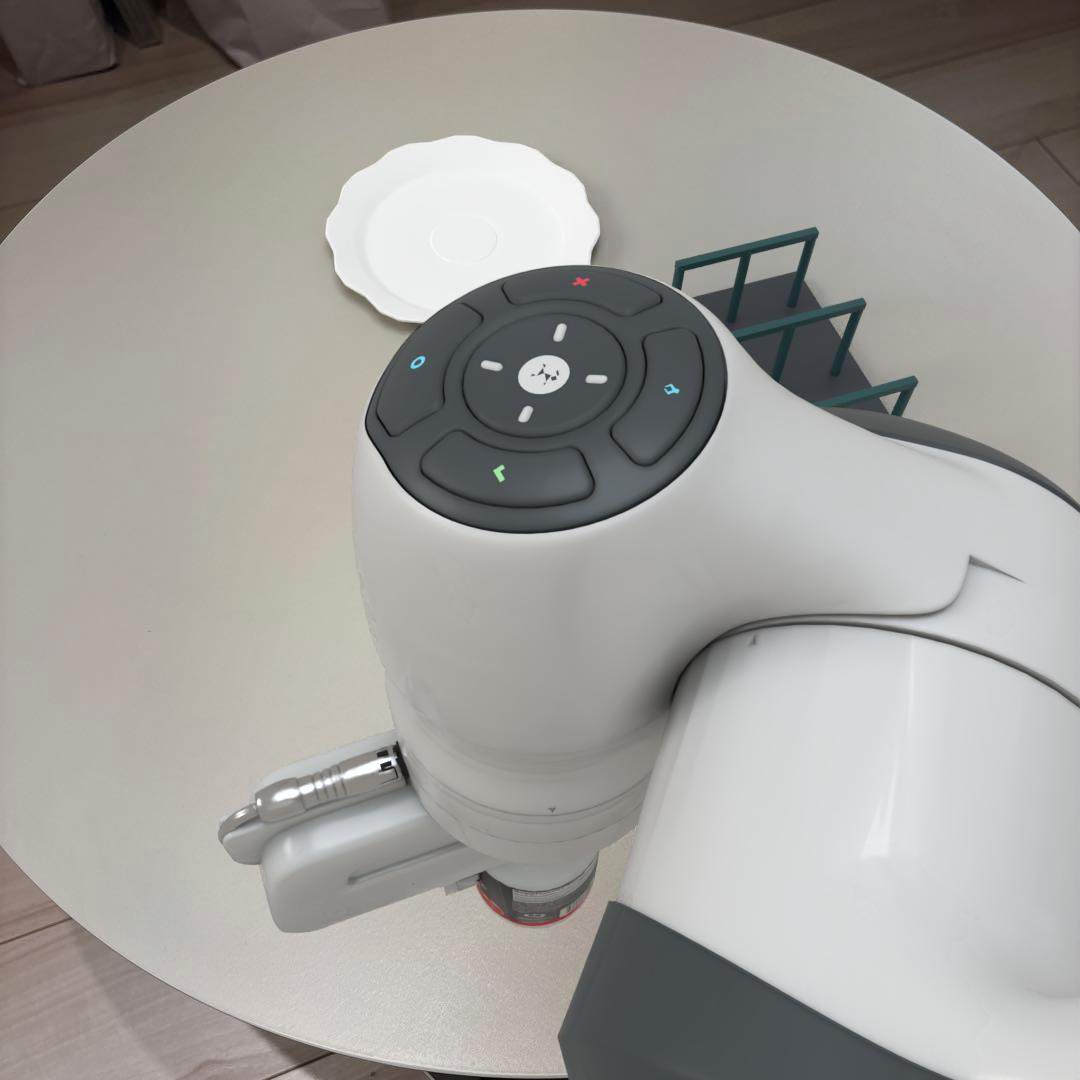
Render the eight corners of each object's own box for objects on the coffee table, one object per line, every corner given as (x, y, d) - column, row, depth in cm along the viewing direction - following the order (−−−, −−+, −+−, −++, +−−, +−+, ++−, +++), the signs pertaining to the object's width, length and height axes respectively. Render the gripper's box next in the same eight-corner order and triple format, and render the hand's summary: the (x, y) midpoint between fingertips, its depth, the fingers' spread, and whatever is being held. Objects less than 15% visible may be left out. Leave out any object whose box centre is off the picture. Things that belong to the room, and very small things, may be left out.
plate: (651, 240, 90) (653, 224, 89) (462, 388, 82) (461, 373, 81) (465, 118, 97) (464, 101, 96) (275, 242, 89) (271, 226, 88)
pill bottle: (458, 828, 51) (445, 746, 43) (573, 794, 52) (581, 707, 44) (491, 948, 48) (484, 886, 40) (611, 910, 49) (628, 841, 41)
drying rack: (923, 484, 78) (964, 406, 71) (737, 539, 76) (760, 465, 68) (795, 281, 88) (820, 195, 81) (626, 324, 85) (636, 239, 78)
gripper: (224, 923, 32) (306, 1011, 43) (876, 696, 36) (790, 833, 47) (183, 723, 35) (270, 856, 47) (786, 534, 39) (726, 701, 50)
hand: (535, 843), depth 47 cm, fingers closed on pill bottle, 5 cm apart
